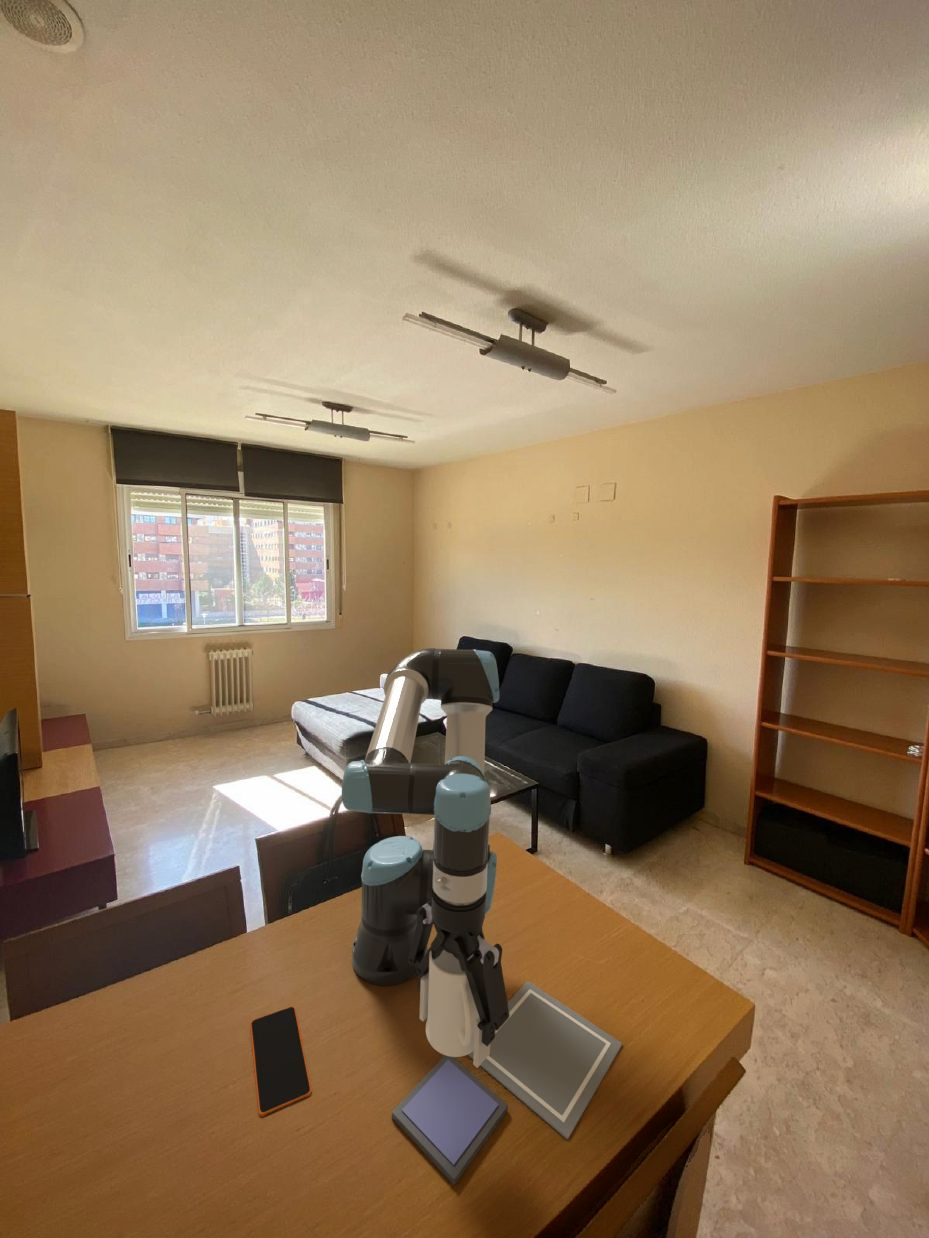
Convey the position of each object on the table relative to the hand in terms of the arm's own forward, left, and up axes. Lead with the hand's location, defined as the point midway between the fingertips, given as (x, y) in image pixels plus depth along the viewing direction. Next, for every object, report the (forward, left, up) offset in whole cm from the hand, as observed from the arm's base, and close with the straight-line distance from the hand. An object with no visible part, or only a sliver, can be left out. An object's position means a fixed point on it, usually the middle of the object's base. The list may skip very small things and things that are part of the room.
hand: (453, 1035), depth 72 cm
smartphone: (-26, -12, -13) cm, 32 cm away
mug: (+1, 0, 0) cm, 1 cm away
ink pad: (0, 0, -13) cm, 13 cm away
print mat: (+5, +18, -13) cm, 23 cm away
